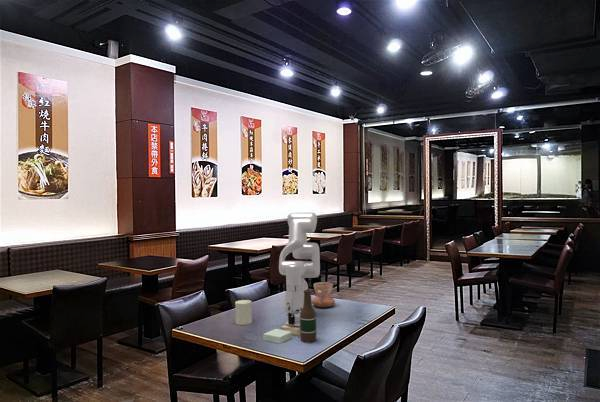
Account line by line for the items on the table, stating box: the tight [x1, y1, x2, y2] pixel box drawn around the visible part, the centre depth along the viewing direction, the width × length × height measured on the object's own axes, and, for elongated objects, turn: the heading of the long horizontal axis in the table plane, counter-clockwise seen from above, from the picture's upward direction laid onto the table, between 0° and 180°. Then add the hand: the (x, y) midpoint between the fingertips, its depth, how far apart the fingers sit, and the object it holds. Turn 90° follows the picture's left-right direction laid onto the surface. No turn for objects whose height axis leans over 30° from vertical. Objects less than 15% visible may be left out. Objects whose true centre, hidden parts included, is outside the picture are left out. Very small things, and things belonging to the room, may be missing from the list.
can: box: [234, 299, 253, 326], centre depth 240 cm, size 9×9×12 cm
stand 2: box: [280, 323, 300, 337], centre depth 222 cm, size 10×10×3 cm
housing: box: [284, 311, 301, 326], centre depth 222 cm, size 5×8×6 cm, turn 55°
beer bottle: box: [299, 289, 317, 343], centre depth 208 cm, size 8×8×24 cm
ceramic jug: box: [311, 281, 336, 309], centre depth 274 cm, size 18×14×14 cm
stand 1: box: [262, 328, 293, 345], centre depth 210 cm, size 10×10×3 cm
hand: (294, 322), depth 222 cm, fingers closed on housing, 5 cm apart
